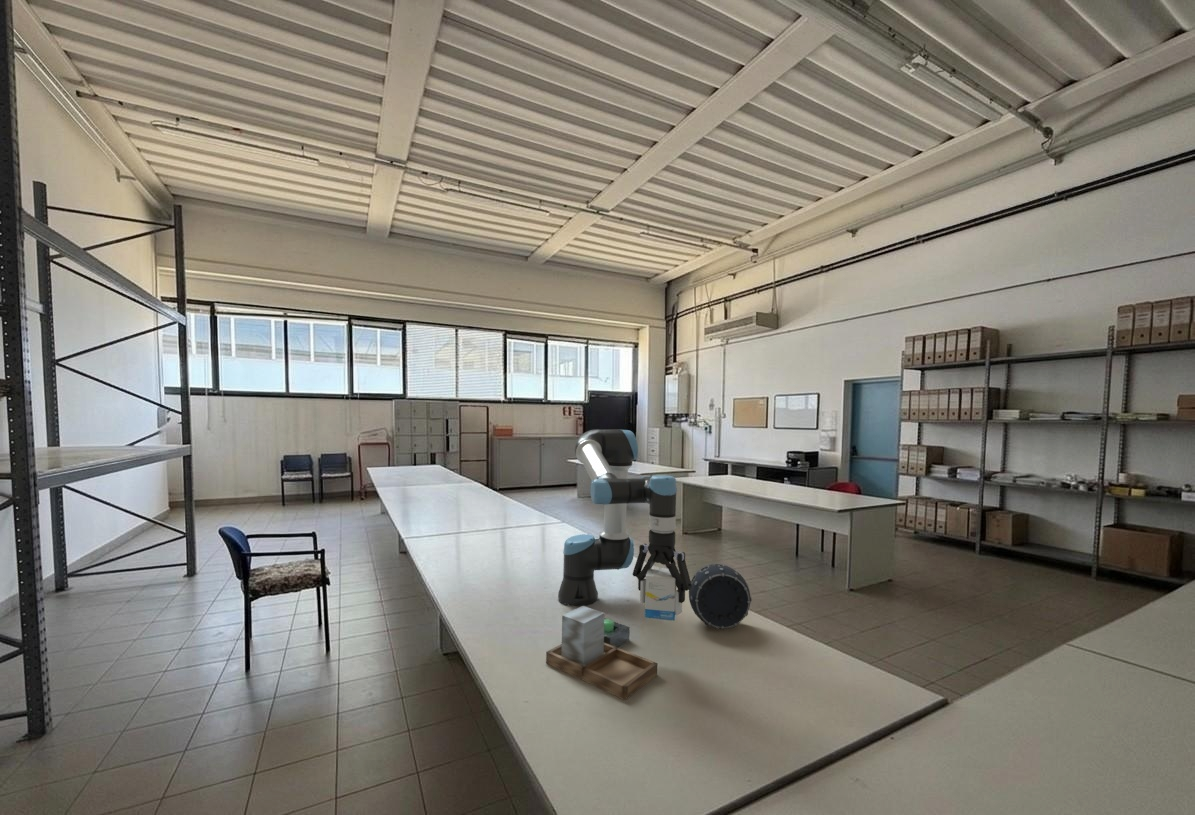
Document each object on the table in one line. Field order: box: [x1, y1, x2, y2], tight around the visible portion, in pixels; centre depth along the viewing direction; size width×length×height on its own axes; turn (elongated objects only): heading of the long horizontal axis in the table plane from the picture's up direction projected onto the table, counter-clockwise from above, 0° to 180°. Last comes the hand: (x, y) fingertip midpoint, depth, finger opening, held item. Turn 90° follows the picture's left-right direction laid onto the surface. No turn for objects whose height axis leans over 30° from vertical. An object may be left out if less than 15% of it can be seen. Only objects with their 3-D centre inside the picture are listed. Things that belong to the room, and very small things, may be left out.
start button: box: [604, 618, 615, 633], centre depth 145 cm, size 4×4×5 cm
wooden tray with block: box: [545, 606, 658, 701], centre depth 129 cm, size 27×15×13 cm, turn 52°
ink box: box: [644, 567, 677, 622], centre depth 133 cm, size 9×8×12 cm
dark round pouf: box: [688, 563, 753, 630], centre depth 157 cm, size 11×20×20 cm, turn 89°
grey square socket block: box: [604, 617, 631, 648], centre depth 145 cm, size 10×10×4 cm
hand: (660, 607), depth 133 cm, fingers closed on ink box, 11 cm apart
